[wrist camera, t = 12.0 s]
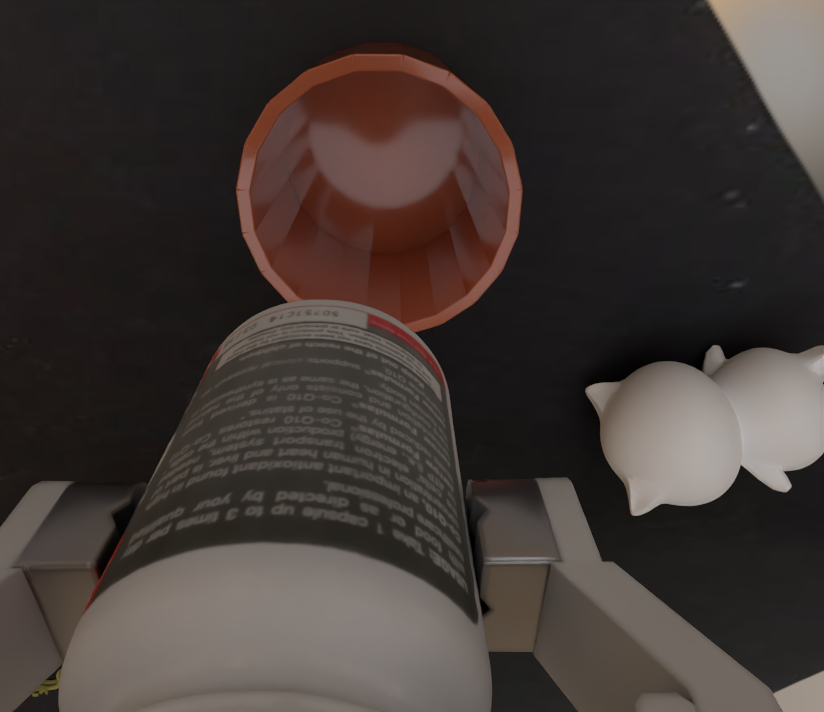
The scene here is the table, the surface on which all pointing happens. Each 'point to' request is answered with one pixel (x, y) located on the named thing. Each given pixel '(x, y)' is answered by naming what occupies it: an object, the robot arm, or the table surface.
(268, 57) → the table surface
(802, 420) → the cat figurine
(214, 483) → the pill bottle
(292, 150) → the cup
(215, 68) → the table surface
